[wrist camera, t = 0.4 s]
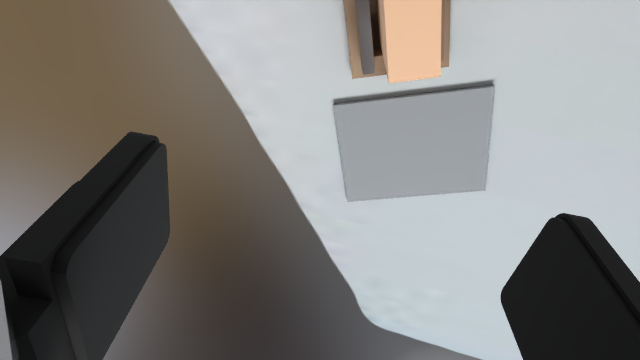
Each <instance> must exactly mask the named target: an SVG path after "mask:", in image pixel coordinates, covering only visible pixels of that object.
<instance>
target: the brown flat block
mask: <svg viewBox="0 0 640 360" xmlns="http://www.w3.org/2000/svg"><path fill="white" fill-rule="evenodd" d="M344 9H345V18H346V27H347V36H348V44H349V53H350V62H351V71H352V79H355V78H363V77H370V76H378V75H386V74H387V72H386V68H385V63H384V58H383V54H382V49H381V44H380V40H379V28H378V13H377V0H344ZM449 41H450V0H442V10H441V67H449Z"/></svg>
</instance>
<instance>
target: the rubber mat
mask: <svg viewBox="0 0 640 360" xmlns="http://www.w3.org/2000/svg"><path fill="white" fill-rule="evenodd" d="M494 90H495V86H494V85H490V86H481V87H473V88H464V89H456V90H448V91H439V92H431V93H422V94H414V95H405V96H397V97H388V98H380V99H372V100H363V101H355V102H346V103H338V104H334V105H333V106H334V113H335V120H336V127H337V134H338V141H339V147H340V154H341V161H342V168H343V175H344V182H345V189H346V196H347V202H352V201H364V200H376V199H388V198H400V197H412V196H424V195H436V194H448V193H460V192H472V191H484V190H485V188H486V177H487V167H488V156H489V145H490V134H491V123H492V112H493V101H494Z"/></svg>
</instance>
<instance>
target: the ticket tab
mask: <svg viewBox="0 0 640 360" xmlns="http://www.w3.org/2000/svg"><path fill="white" fill-rule="evenodd" d="M441 10H442V0H377V13H378V28H379V40H380V44H381V49H382V54H383V58H384V63H385V68H386V72H387V77H388V81H389V83H395V82H403V81H411V80H419V79H427V78H435V77H441Z"/></svg>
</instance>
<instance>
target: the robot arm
mask: <svg viewBox="0 0 640 360" xmlns="http://www.w3.org/2000/svg"><path fill="white" fill-rule="evenodd" d="M168 196H169V195H168V173H167V150H166V146H165V144H162V143H159V140H158V138H157V137H156V136H152V135H147V134H142V133H136V132H129V133H128V134H127V135H126V136H125V137H124V138H123V139H122V140H121V141H120V142H119V143H118V144H117V145H115V146H114V148H113V149H111V150H110V152H108V153H107V154H106V155H105V156H104V157H103V158H102V159H101V160H100V162H98V163H97V164H96V165H95V166H94V167H93V168H92V169H91V170H90V171H89V172H88V173H87V174H86V175H85V176H84V177H83V178H82V179H81V180H80V181H78V182H76V183H75V184H74V185H72V186H71V187H70V188H69V189H68V190H67V191H66V192H65V193H64V194H63V195H62V196H61V197H60V198H59V199H58V200H57V201H56V202H55V203H54V204H53V205H52V206H51V207H50V208H49V209H48V210H47V211H46V212H45V213H44V214H43V215H42V216H41V217H40V218H39V219H38V220H37V221H36V222H35V223H34V224H33V225H31V226H30V227H29V228H28V230H26V231H25V233H23V234H22V235H21V236H20V237H19V238H18V239H17V240H16V241H15V242H14V243H13V244H12V245H11V246H10V247H9V248H8V249H7V250H6V251H5V252H4V253H3V254H2V255H1V256H0V360H102V359H103V358H104V356H105V354H106V352H107V351H108V349H109V347H110V345H111V343H112V342H113V340H114V338H115V336H116V334H117V333H118V331H119V329H120V327H121V325H122V323H123V321H124V320H125V318H126V316H127V314H128V313H129V311H130V309H131V307H132V305H133V304H134V302H135V300H136V298H137V296H138V295H139V293H140V291H141V289H142V287H143V285H144V284H145V282H146V280H147V278H148V276H149V275H150V273H151V271H152V269H153V268H154V266H155V264H156V262H157V260H158V259H159V257H160V255H161V253H162V251H163V250H164V248H165V246H166V244H167V242H168V238H169V234H170V219H169V197H168ZM501 303H502V306H503V309H504V311H505V314H506V316H507V319H508V321H509V324H510V327H511V329H512V332H513V334H514V337H515V340H516V342H517V345H518V347H519V350H520V353H521V355H522V358H523V360H640V282H639V281H638V280H637V278H636V277H635V276H634V275H633V273H632V272H631V271H630V269H629V268H628V267H627V266H626V264H625V263H624V262H623V260H622V259H621V258H620V257H619V255H618V254H617V253H616V251H615V250H614V249H613V248H612V246H611V245H610V244H609V243H608V241H607V240H606V239H605V237H604V236H603V235H602V234H601V232H600V231H599V230H598V228H597V227H596V226H595V225H594V223H593V222H592V221H591V220H590V219H589V218H586V217H581V216H576V215H571V214H566V213H562V214H559V215H557V216H556V217H555V218H551V219H549V221H548V222H547V223H546V225H545V226H544V228H543V229H542V231H541V232H540V234H539V235H538V237H537V238H536V240H535V241H534V243H533V244H532V246H531V247H530V249H529V250H528V252H527V253H526V255H525V256H524V258H523V259H522V261H521V262H520V264H519V265H518V267H517V268H516V270H515V271H514V273H513V274H512V276H511V277H510V279H509V280H508V282H507V283H506V285H505V286H504V288H503V289H502V292H501Z"/></svg>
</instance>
